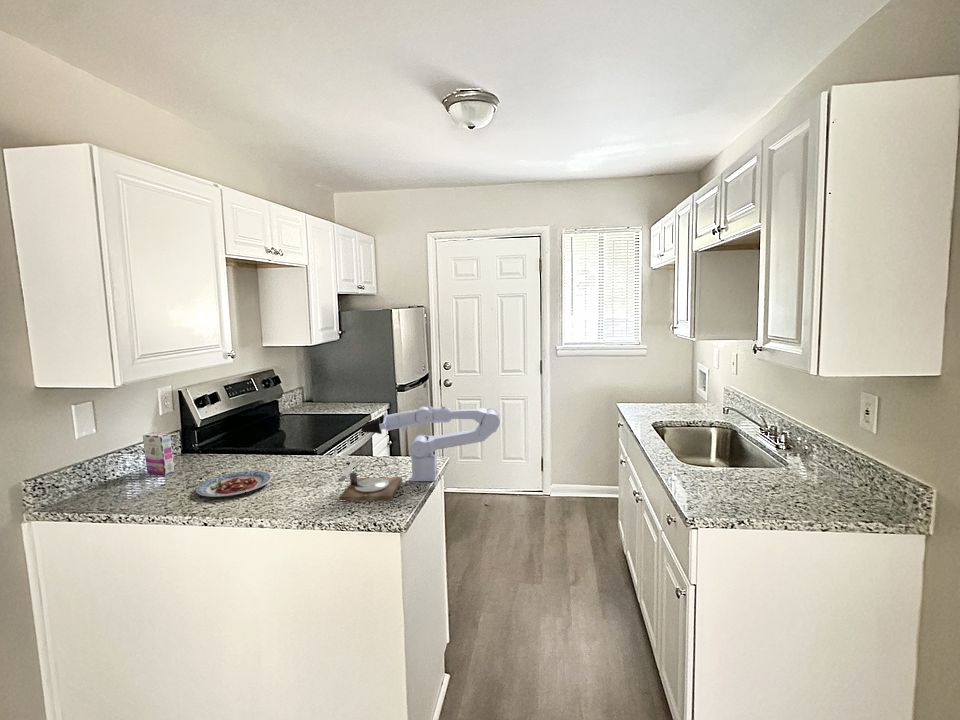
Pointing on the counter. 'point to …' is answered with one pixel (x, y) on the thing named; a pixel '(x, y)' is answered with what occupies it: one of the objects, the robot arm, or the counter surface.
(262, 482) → the ceramic plate
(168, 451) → the candy bar box
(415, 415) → the robot arm
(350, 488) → the dial board
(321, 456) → the counter surface
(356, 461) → the adjustable wrench
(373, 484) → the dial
